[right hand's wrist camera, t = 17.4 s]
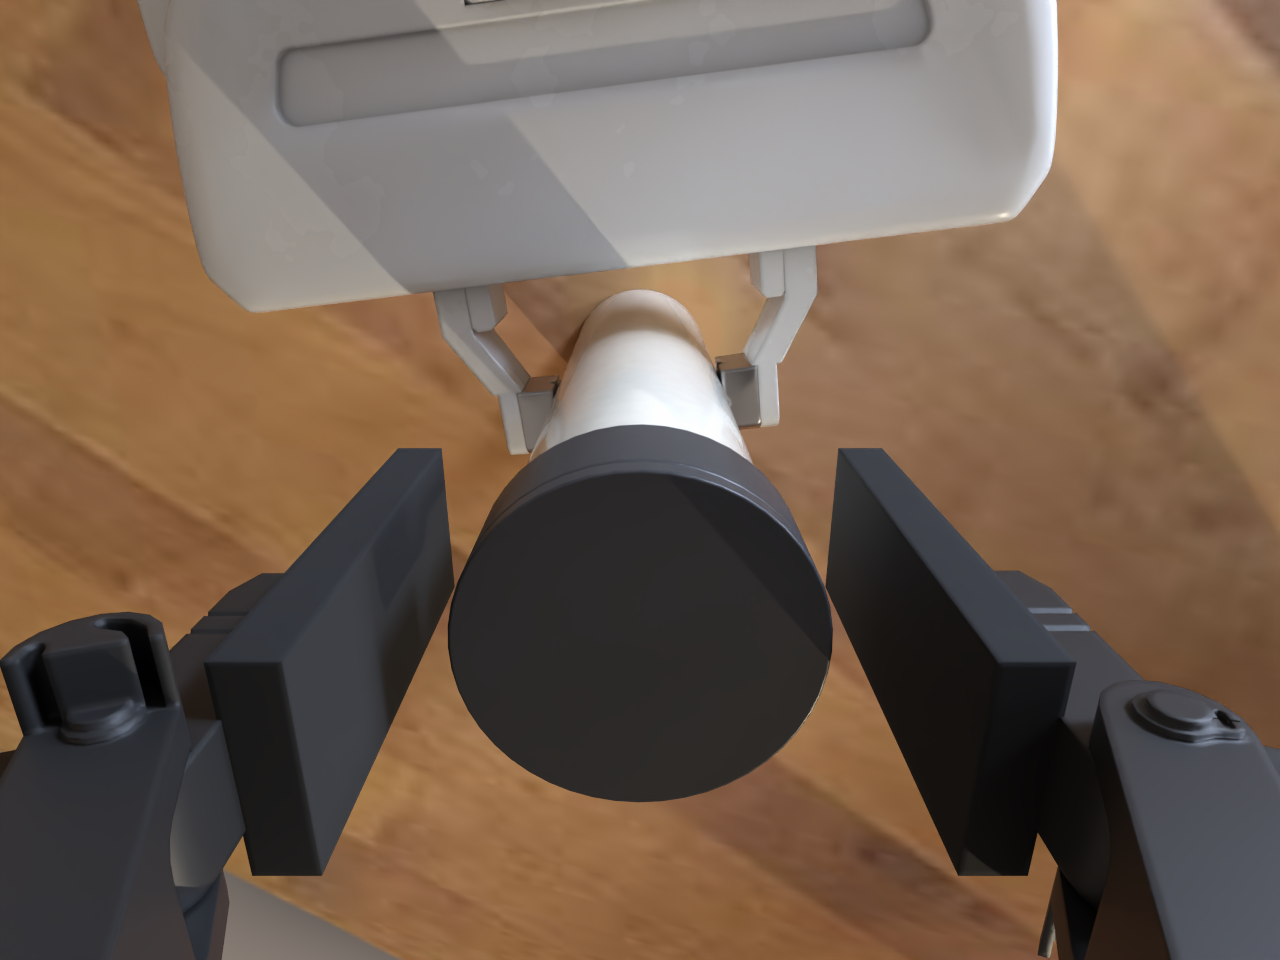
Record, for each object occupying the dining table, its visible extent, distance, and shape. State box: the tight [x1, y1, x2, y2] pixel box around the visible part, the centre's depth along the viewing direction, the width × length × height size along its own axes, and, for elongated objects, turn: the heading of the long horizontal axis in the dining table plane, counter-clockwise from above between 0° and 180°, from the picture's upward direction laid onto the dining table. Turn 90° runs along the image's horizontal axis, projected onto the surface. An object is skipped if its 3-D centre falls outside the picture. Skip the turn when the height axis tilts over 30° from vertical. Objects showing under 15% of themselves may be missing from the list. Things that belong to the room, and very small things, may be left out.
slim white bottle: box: [527, 290, 753, 465], centre depth 19 cm, size 4×4×18 cm
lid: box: [448, 424, 833, 802], centre depth 11 cm, size 5×5×2 cm
